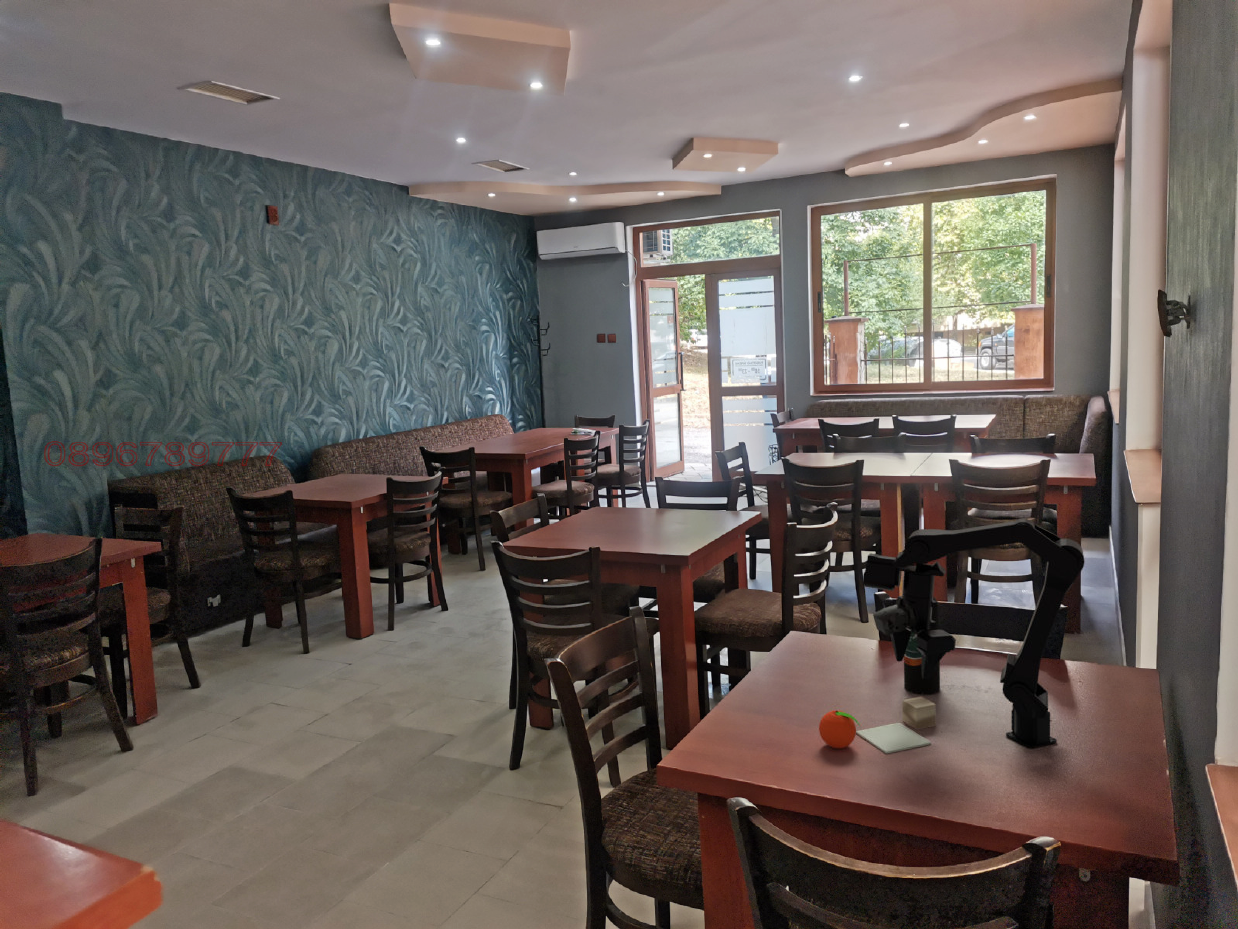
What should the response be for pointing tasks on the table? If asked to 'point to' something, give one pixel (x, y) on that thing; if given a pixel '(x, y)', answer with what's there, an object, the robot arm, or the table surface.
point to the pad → (893, 738)
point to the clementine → (837, 729)
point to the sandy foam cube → (919, 712)
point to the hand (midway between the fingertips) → (911, 669)
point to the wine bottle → (920, 664)
